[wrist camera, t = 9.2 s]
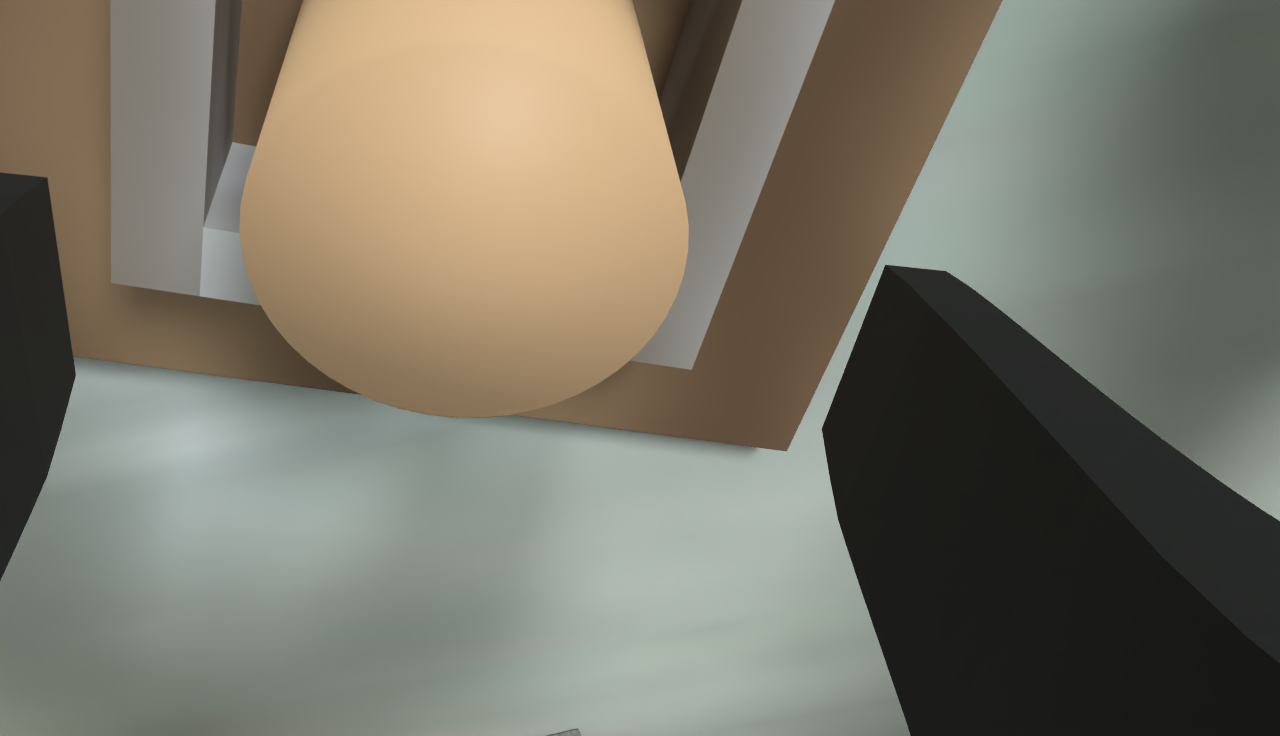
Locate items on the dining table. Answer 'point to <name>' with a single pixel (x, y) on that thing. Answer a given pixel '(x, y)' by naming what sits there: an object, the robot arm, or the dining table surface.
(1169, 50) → the dining table surface
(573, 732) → the white striped pillar
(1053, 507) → the robot arm
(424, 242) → the tan rounded cone
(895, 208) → the sleeve holder
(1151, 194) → the dining table surface
